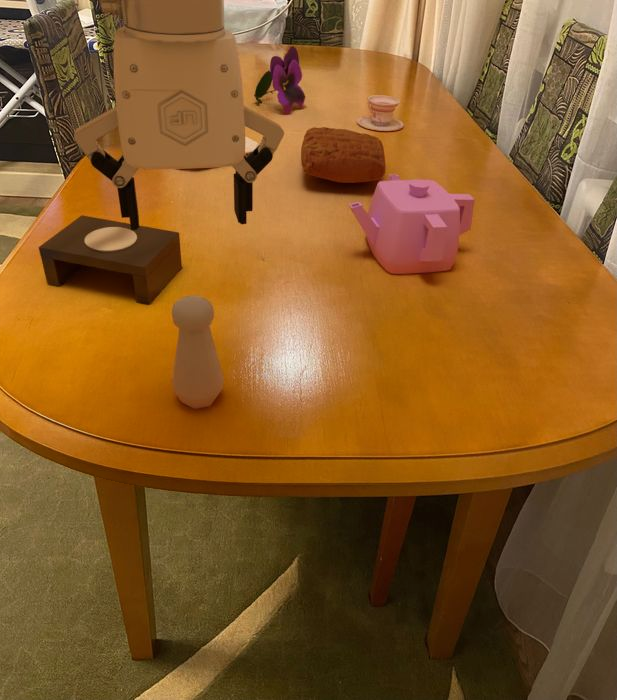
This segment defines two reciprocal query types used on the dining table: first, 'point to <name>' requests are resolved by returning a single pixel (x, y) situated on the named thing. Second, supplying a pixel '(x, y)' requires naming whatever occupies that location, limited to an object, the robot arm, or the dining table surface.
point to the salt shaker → (195, 353)
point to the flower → (283, 81)
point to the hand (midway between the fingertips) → (188, 220)
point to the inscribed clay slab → (342, 155)
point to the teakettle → (414, 225)
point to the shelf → (114, 253)
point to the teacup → (381, 114)
